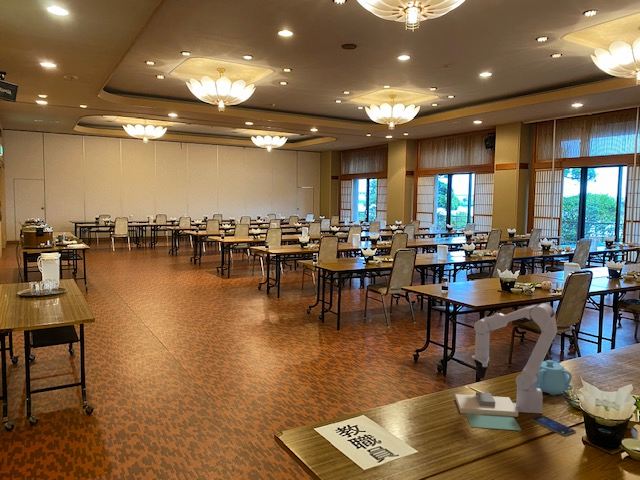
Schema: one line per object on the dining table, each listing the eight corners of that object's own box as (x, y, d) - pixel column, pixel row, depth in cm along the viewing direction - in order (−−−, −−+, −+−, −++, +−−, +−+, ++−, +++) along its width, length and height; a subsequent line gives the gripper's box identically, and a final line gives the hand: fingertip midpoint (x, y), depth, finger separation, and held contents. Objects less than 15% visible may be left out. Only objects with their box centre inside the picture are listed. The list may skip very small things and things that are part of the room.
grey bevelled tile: (490, 397, 203) (490, 393, 203) (495, 406, 194) (495, 401, 194) (475, 396, 204) (475, 392, 204) (479, 405, 195) (479, 400, 195)
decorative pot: (533, 395, 211) (534, 365, 209) (525, 382, 226) (526, 353, 225) (573, 399, 207) (575, 368, 206) (562, 385, 223) (564, 356, 222)
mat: (513, 417, 189) (513, 416, 189) (521, 430, 178) (521, 430, 178) (466, 414, 191) (466, 413, 191) (471, 427, 181) (471, 426, 181)
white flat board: (508, 401, 204) (509, 397, 204) (518, 416, 190) (518, 411, 190) (455, 398, 207) (455, 394, 206) (460, 413, 193) (460, 408, 193)
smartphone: (564, 435, 174) (529, 418, 187) (564, 438, 174) (529, 420, 188) (577, 431, 178) (542, 414, 191) (577, 433, 178) (542, 416, 191)
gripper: (469, 341, 215) (468, 371, 216) (475, 351, 201) (474, 383, 202) (486, 342, 214) (484, 372, 215) (493, 352, 200) (491, 384, 201)
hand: (480, 377), depth 208 cm, fingers closed
